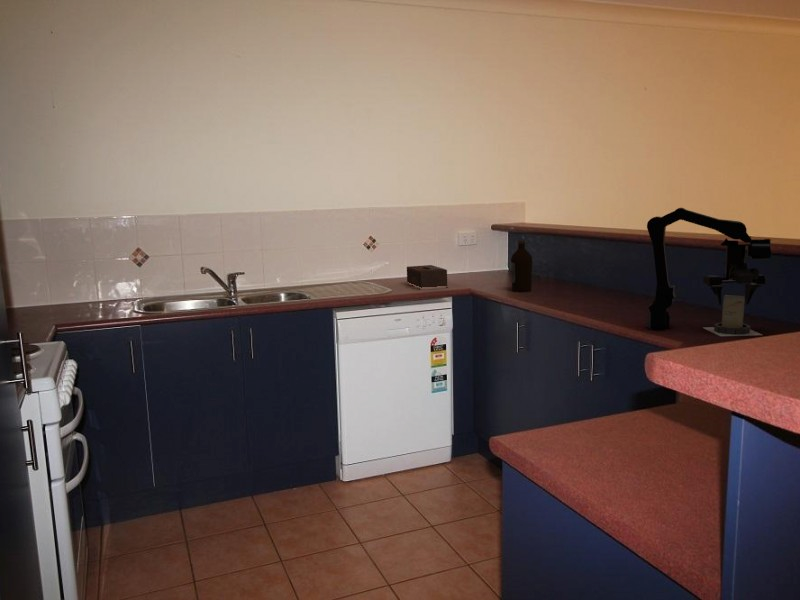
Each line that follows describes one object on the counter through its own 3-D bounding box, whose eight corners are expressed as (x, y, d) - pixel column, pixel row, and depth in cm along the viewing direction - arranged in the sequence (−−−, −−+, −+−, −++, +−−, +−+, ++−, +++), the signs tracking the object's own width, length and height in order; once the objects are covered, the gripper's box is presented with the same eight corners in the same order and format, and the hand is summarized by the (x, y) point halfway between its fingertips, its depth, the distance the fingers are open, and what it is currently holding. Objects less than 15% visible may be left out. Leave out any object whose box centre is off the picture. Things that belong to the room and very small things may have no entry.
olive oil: (531, 288, 337) (530, 239, 333) (533, 292, 327) (533, 241, 323) (510, 289, 338) (509, 240, 334) (512, 292, 327) (511, 242, 323)
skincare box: (721, 331, 226) (722, 296, 224) (723, 329, 230) (724, 294, 228) (741, 333, 223) (743, 297, 221) (743, 330, 227) (745, 295, 225)
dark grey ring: (723, 335, 221) (723, 329, 221) (708, 328, 232) (709, 322, 232) (755, 334, 221) (756, 328, 221) (740, 327, 232) (740, 321, 231)
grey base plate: (720, 337, 220) (720, 336, 220) (702, 328, 234) (702, 327, 234) (763, 336, 219) (763, 334, 219) (742, 327, 233) (742, 326, 233)
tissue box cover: (447, 288, 350) (447, 269, 348) (421, 290, 346) (420, 271, 344) (431, 282, 374) (431, 264, 373) (407, 284, 370) (406, 266, 369)
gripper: (718, 262, 215) (716, 310, 217) (776, 260, 214) (773, 308, 217) (703, 259, 226) (701, 304, 228) (758, 257, 225) (756, 302, 228)
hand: (733, 304), depth 225 cm, fingers open, 9 cm apart
